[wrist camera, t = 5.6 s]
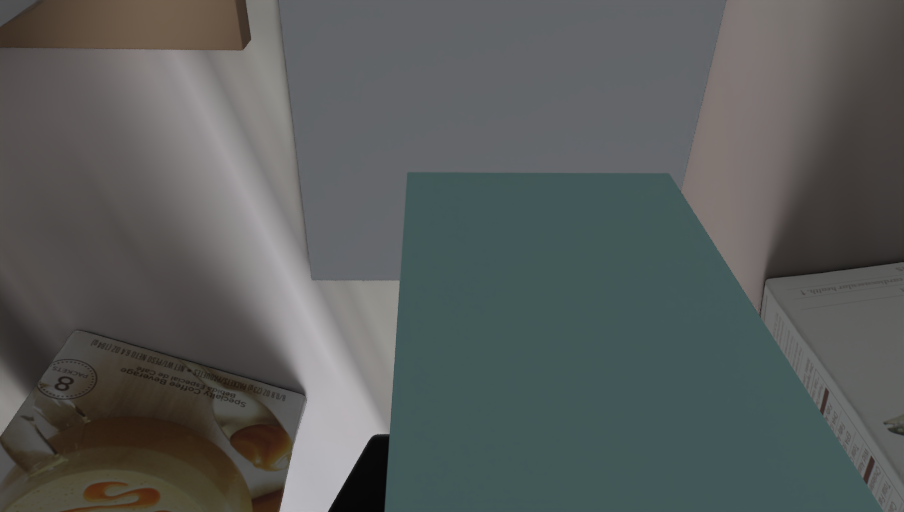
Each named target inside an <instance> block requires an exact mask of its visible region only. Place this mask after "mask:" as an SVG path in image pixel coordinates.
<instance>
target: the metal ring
mask: <svg viewBox="0 0 904 512" xmlns="http://www.w3.org/2000/svg"><path fill="white" fill-rule="evenodd" d="M44 1H45V0H0V27H2V26H3V25H5V24H7V23H9V22H11V21H13V20H15V19H17V18H19V17H21V16H22V15H24V14H26V13H28V12H30V11H31V10H33V9H34V8H35V7H37V6H38V5H40V4H41V3H43V2H44Z"/></svg>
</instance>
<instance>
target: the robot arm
mask: <svg viewBox="0 0 904 512" xmlns="http://www.w3.org/2000/svg"><path fill="white" fill-rule="evenodd" d="M389 438H390V434H377V435H374V436H372V437H371V439H370V440H369V441H368V443H367V445H366V447H365V448H364V450H363V452H362V454H361V455H360V457H359V459H358V460H357V462H356V464H355V466H354V467H353V469H352V471H351V473H350V474H349V476H348V478H347V480H346V481H345V483H344V485H343V486H342V488H341V490H340V492H339V493H338V495H337V497H336V499H335V500H334V502H333V504H332V506H331V507H330V509H329V511H328V512H385V498H386V483H387V468H388V453H389Z"/></svg>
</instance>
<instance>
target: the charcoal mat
mask: <svg viewBox="0 0 904 512" xmlns="http://www.w3.org/2000/svg"><path fill="white" fill-rule="evenodd" d="M278 2H279V10H280V19H281V27H282V36H283V44H284V52H285V61H286V69H287V77H288V86H289V94H290V102H291V111H292V119H293V128H294V136H295V144H296V153H297V161H298V169H299V178H300V186H301V195H302V203H303V211H304V220H305V228H306V236H307V245H308V253H309V262H310V270H311V278H312V280H400V273H401V258H402V243H403V228H404V213H405V198H406V183H407V172H461V173H669V174H670V175H671V177H672V179H673V180H674V182H675V183H676V185H677V187H678V188H679V190H680V191H681V188H682V184H683V180H684V176H685V172H686V168H687V163H688V159H689V155H690V151H691V147H692V142H693V138H694V134H695V130H696V126H697V122H698V117H699V113H700V109H701V105H702V101H703V96H704V92H705V88H706V84H707V80H708V76H709V71H710V67H711V63H712V59H713V55H714V50H715V46H716V42H717V38H718V34H719V29H720V25H721V21H722V17H723V13H724V9H725V4H726V0H278Z"/></svg>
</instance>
